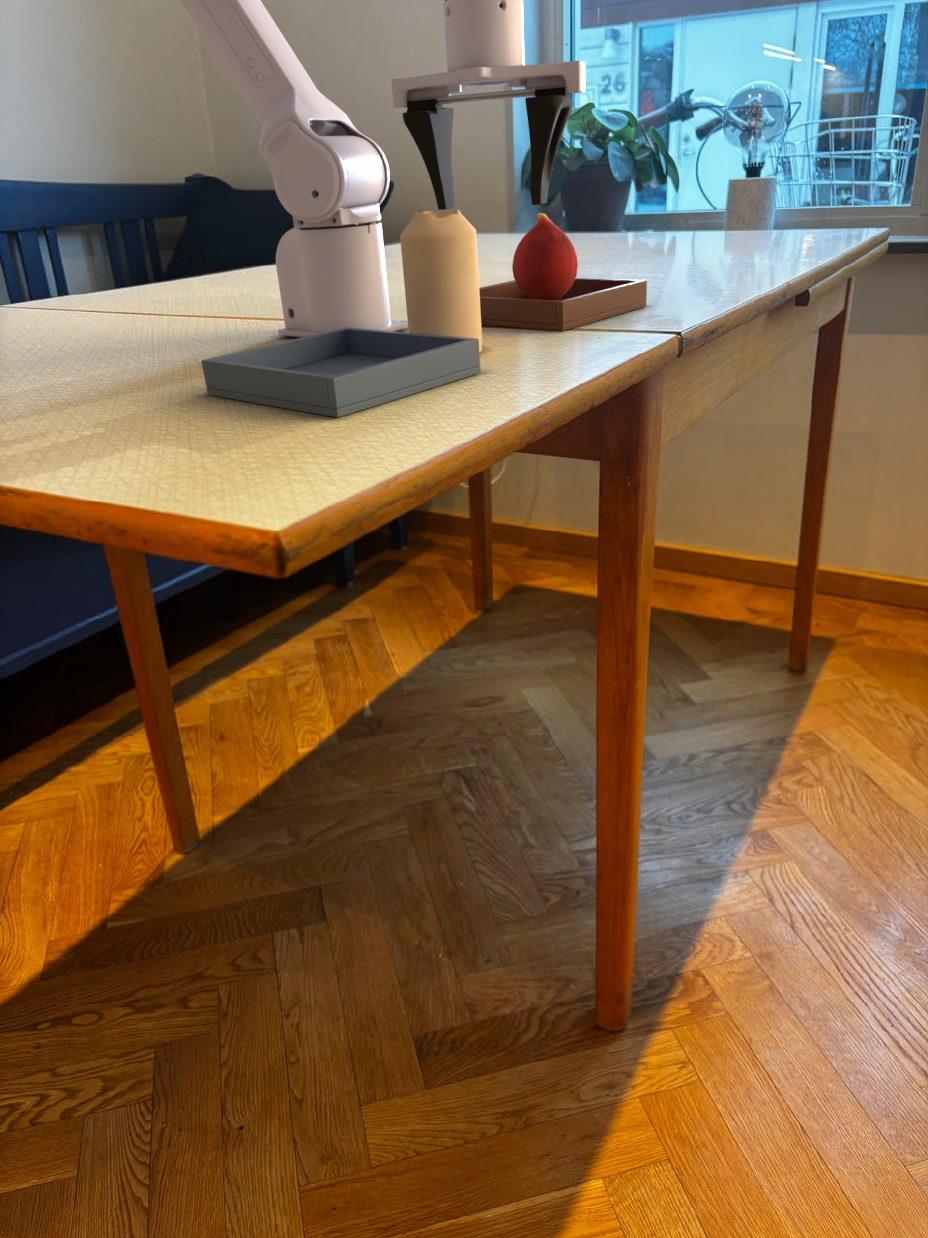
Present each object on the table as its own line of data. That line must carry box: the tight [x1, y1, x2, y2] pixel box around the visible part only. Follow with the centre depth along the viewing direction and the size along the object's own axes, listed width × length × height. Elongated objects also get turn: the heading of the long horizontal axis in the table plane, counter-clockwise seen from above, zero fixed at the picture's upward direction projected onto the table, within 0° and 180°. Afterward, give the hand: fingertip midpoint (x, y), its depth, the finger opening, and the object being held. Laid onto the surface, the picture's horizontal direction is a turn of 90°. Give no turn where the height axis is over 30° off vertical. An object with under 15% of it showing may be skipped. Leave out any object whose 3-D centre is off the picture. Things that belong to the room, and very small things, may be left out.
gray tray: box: [201, 327, 482, 418], centre depth 62 cm, size 13×13×2 cm
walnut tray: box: [479, 277, 648, 332], centre depth 83 cm, size 13×13×2 cm
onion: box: [511, 212, 579, 301], centre depth 81 cm, size 6×6×8 cm
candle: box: [399, 208, 483, 353], centre depth 68 cm, size 6×6×10 cm
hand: (492, 206), depth 72 cm, fingers open, 7 cm apart
